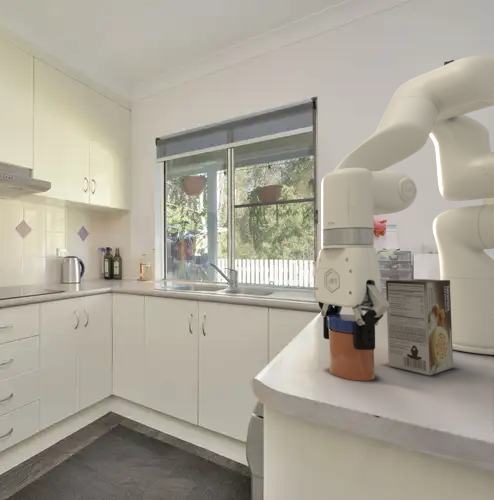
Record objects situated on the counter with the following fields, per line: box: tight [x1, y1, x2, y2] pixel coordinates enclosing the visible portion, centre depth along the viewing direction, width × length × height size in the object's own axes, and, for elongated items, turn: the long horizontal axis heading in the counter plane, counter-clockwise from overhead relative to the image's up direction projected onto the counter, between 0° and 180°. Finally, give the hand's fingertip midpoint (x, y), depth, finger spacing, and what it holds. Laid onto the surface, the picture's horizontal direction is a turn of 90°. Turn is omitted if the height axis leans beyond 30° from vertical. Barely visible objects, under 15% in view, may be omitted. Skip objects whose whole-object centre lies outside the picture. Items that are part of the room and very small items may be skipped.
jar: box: [328, 328, 376, 382], centre depth 58 cm, size 6×6×9 cm
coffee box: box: [385, 278, 454, 376], centre depth 62 cm, size 9×6×16 cm
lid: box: [327, 313, 357, 332], centre depth 58 cm, size 7×7×2 cm
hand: (347, 342), depth 58 cm, fingers closed on lid, 6 cm apart
